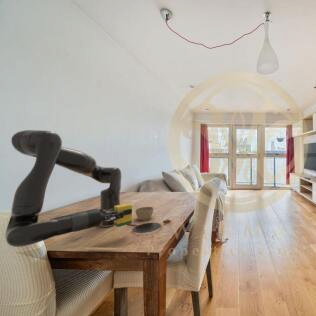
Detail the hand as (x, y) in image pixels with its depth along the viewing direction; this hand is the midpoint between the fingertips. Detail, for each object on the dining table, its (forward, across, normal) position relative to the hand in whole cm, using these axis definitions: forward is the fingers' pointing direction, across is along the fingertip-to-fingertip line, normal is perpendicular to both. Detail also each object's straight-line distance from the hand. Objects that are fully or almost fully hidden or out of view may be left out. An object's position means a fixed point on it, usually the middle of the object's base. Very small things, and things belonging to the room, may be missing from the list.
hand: (129, 210), depth 88 cm
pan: (+9, +6, +13) cm, 17 cm away
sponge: (-3, 0, +6) cm, 7 cm away
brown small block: (+21, +1, +13) cm, 25 cm away
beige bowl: (+17, +18, +14) cm, 28 cm away
